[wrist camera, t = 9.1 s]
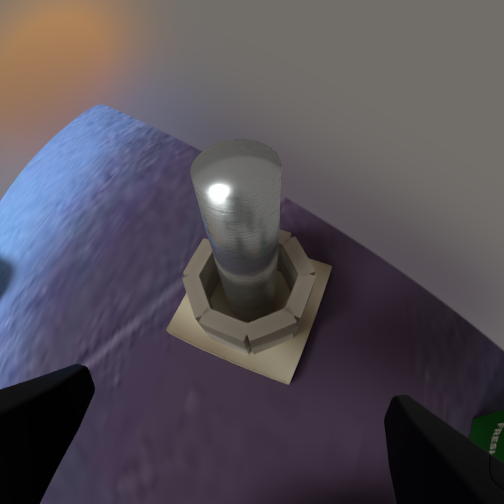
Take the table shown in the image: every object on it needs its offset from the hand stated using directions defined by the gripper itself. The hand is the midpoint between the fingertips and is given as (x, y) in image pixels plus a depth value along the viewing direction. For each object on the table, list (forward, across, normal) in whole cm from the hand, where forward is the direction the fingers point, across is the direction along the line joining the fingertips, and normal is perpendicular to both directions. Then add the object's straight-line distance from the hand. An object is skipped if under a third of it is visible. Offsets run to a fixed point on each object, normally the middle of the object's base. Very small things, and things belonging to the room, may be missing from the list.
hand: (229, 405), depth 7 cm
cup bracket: (+16, +1, +4) cm, 16 cm away
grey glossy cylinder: (+15, +1, +3) cm, 15 cm away
